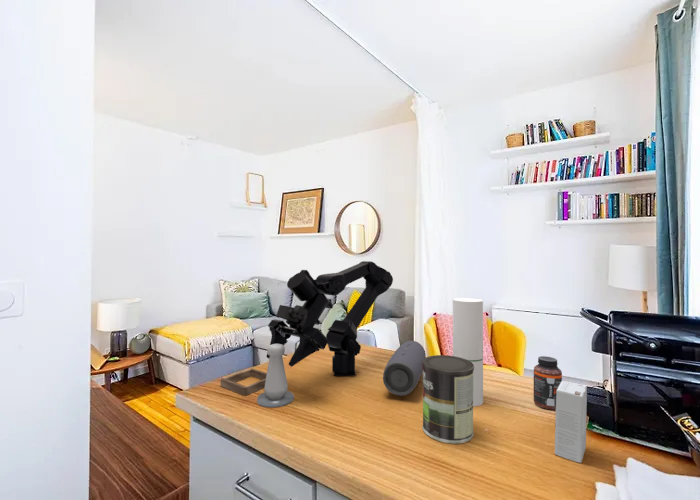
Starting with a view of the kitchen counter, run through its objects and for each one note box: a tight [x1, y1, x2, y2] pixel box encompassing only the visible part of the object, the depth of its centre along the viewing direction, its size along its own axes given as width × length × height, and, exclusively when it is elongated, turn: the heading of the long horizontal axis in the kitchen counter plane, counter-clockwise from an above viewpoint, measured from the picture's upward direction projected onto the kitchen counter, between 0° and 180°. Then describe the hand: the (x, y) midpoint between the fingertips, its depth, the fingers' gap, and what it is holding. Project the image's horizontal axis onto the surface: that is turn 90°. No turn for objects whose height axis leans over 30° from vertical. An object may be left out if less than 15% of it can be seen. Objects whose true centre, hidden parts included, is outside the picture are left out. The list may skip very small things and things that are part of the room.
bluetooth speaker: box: [382, 340, 427, 397], centre depth 95 cm, size 23×9×10 cm, turn 161°
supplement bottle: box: [533, 355, 563, 411], centre depth 82 cm, size 6×6×11 cm
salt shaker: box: [263, 344, 289, 400], centre depth 86 cm, size 6×6×13 cm
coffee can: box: [422, 354, 474, 445], centre depth 71 cm, size 10×10×14 cm
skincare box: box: [554, 380, 588, 464], centre depth 63 cm, size 6×4×12 cm
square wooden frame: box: [220, 368, 267, 397], centre depth 95 cm, size 11×11×2 cm
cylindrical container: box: [452, 297, 484, 407], centre depth 85 cm, size 7×7×25 cm
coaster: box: [256, 390, 295, 408], centre depth 85 cm, size 9×9×1 cm
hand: (278, 361), depth 86 cm, fingers open, 9 cm apart
